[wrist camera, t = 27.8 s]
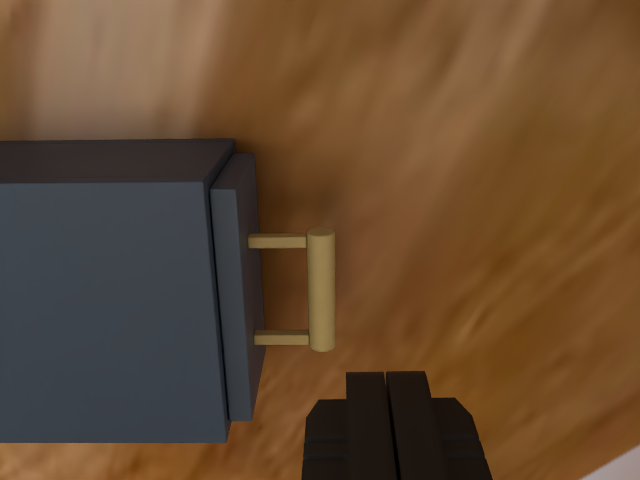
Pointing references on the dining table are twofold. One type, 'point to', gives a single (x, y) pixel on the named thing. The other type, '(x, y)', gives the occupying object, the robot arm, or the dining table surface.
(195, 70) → the dining table surface
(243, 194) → the drawer
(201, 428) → the cabinet
